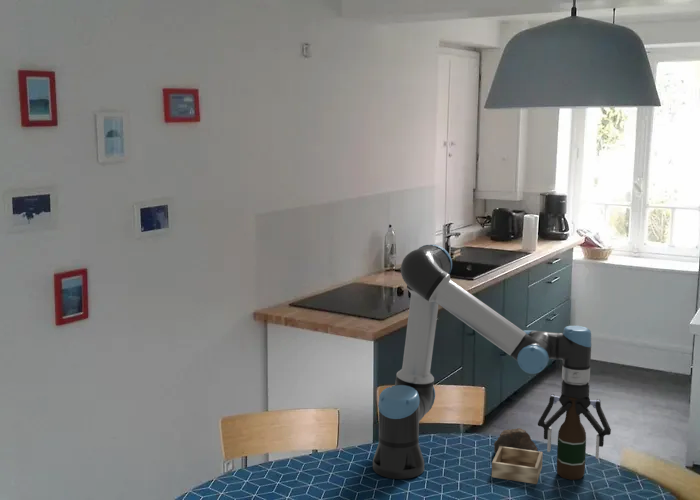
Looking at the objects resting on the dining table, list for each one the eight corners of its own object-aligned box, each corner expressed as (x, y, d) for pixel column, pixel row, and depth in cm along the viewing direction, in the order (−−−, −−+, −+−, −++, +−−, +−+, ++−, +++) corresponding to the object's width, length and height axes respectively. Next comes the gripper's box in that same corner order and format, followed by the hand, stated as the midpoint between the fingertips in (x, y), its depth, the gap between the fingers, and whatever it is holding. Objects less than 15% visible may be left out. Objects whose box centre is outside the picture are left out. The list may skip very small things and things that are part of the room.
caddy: (491, 477, 213) (492, 462, 212) (499, 459, 224) (499, 445, 224) (536, 484, 208) (537, 469, 208) (542, 466, 220) (542, 451, 219)
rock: (541, 461, 226) (534, 448, 236) (544, 434, 225) (537, 422, 235) (493, 457, 226) (488, 444, 236) (496, 430, 225) (491, 418, 235)
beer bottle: (586, 481, 210) (589, 399, 206) (557, 479, 211) (560, 398, 208) (583, 470, 217) (586, 390, 214) (555, 467, 219) (558, 389, 215)
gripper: (529, 380, 211) (527, 452, 214) (621, 390, 202) (618, 465, 205) (532, 372, 218) (530, 442, 221) (622, 381, 209) (618, 454, 212)
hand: (572, 453), depth 213 cm, fingers open, 12 cm apart
